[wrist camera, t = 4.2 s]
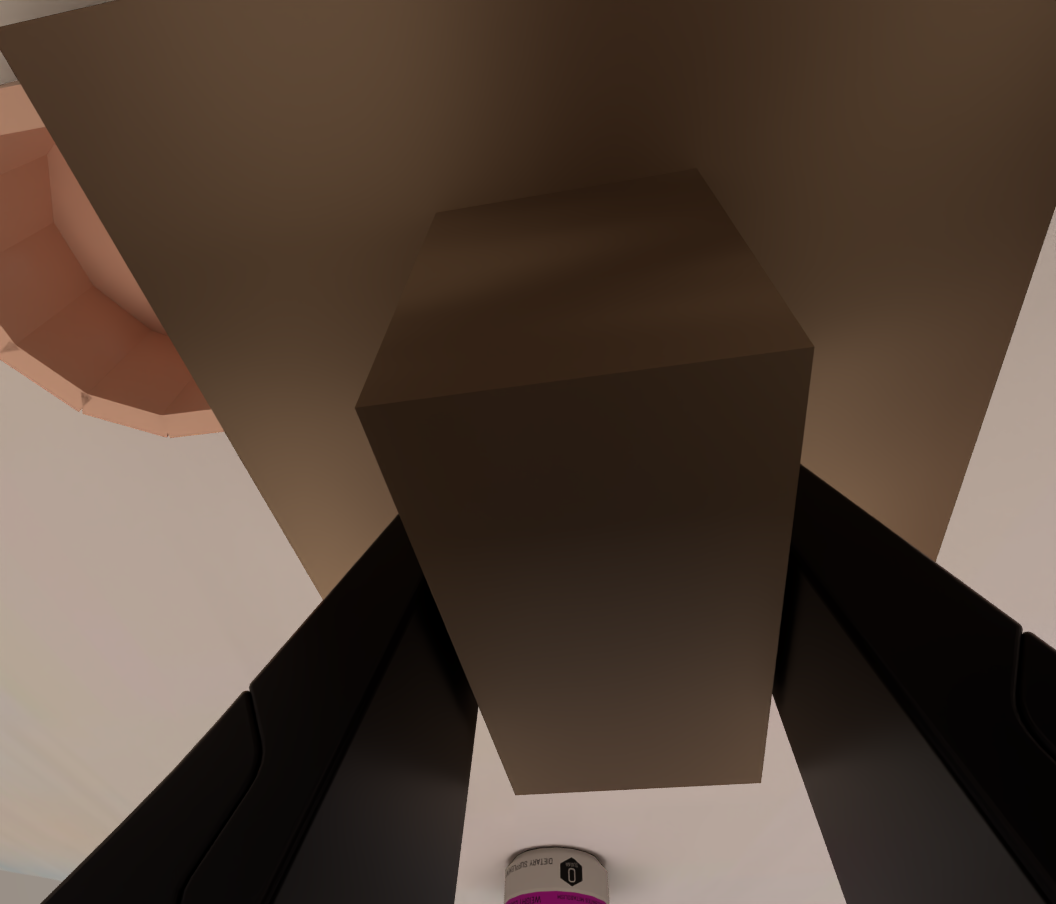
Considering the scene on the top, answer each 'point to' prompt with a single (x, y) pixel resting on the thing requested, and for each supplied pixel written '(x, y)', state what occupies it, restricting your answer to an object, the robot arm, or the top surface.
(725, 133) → the walnut lid
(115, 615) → the top surface
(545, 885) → the supplement can
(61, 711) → the top surface
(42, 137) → the terracotta bowl
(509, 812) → the top surface
